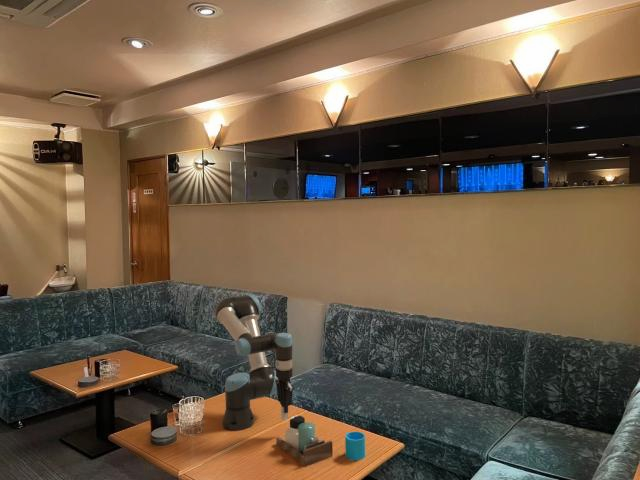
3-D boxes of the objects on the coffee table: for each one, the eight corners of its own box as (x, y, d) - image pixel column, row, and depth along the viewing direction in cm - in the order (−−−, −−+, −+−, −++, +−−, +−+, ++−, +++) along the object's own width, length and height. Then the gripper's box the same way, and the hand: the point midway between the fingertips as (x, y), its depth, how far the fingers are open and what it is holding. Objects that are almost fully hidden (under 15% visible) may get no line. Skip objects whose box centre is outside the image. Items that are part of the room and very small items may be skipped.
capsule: (295, 455, 190) (294, 427, 189) (305, 448, 195) (304, 421, 195) (309, 460, 186) (308, 431, 185) (319, 453, 191) (318, 424, 191)
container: (310, 446, 198) (309, 416, 197) (298, 453, 191) (297, 422, 191) (296, 441, 202) (296, 412, 202) (285, 448, 196) (284, 418, 196)
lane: (276, 444, 200) (276, 430, 200) (302, 435, 208) (302, 422, 207) (305, 466, 181) (304, 451, 181) (332, 456, 189) (332, 441, 188)
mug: (364, 461, 184) (363, 441, 184) (344, 459, 186) (343, 439, 185) (367, 447, 196) (367, 428, 195) (348, 445, 197) (348, 426, 197)
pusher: (304, 460, 185) (304, 440, 185) (323, 453, 190) (322, 434, 190) (306, 461, 184) (305, 442, 184) (324, 454, 189) (324, 435, 189)
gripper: (269, 365, 210) (270, 415, 212) (284, 373, 199) (284, 426, 201) (284, 362, 214) (284, 411, 216) (298, 370, 204) (299, 422, 205)
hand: (284, 418), depth 208 cm, fingers closed
